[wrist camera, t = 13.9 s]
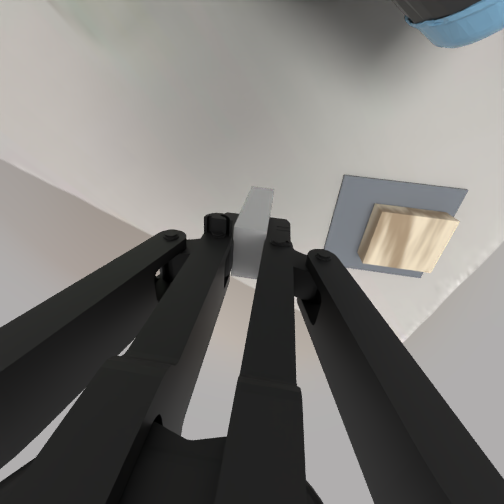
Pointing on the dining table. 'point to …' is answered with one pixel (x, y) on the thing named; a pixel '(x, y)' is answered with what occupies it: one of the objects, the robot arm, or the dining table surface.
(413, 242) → the wooden block
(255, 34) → the dining table surface
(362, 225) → the mat
